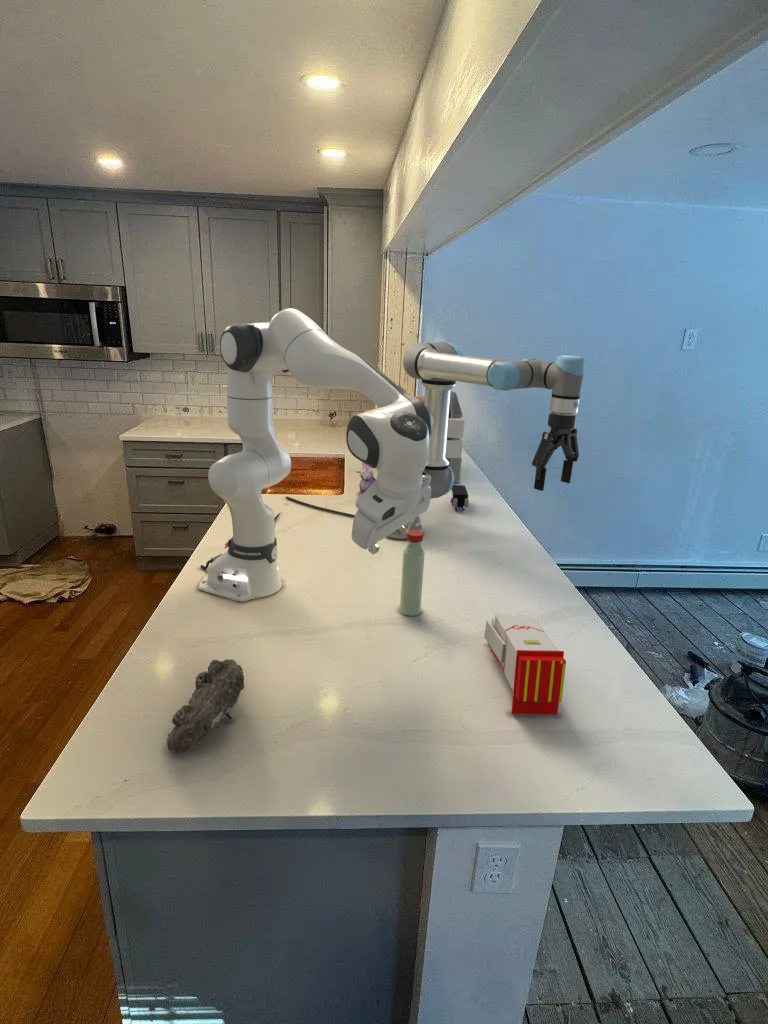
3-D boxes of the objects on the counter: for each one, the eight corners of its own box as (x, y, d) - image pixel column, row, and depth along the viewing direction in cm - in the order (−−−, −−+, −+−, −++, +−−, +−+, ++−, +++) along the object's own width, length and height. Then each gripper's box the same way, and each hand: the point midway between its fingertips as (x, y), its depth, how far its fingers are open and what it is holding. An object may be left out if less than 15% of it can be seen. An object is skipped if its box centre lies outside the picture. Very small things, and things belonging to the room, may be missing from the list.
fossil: (192, 660, 117) (244, 628, 112) (224, 691, 120) (276, 661, 115) (142, 746, 98) (202, 712, 93) (182, 779, 101) (242, 748, 96)
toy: (530, 600, 137) (574, 657, 108) (525, 651, 140) (567, 720, 111) (480, 599, 137) (511, 656, 107) (477, 651, 139) (506, 719, 110)
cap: (404, 537, 144) (405, 530, 143) (419, 536, 145) (420, 529, 144) (409, 543, 140) (409, 536, 140) (425, 542, 141) (425, 535, 141)
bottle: (397, 606, 151) (401, 531, 144) (416, 604, 153) (421, 529, 145) (403, 616, 146) (408, 539, 139) (423, 614, 148) (429, 537, 140)
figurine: (363, 499, 233) (364, 464, 228) (353, 492, 242) (354, 458, 236) (383, 497, 237) (385, 462, 232) (373, 490, 246) (374, 456, 241)
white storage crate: (382, 463, 289) (386, 382, 275) (445, 464, 293) (451, 384, 279) (390, 482, 257) (394, 392, 243) (460, 483, 261) (468, 394, 247)
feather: (287, 506, 225) (290, 502, 224) (270, 530, 198) (272, 526, 198) (283, 504, 225) (286, 500, 224) (265, 527, 198) (268, 523, 197)
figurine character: (468, 516, 224) (463, 500, 237) (471, 498, 221) (465, 483, 234) (452, 515, 224) (447, 499, 237) (453, 498, 220) (449, 482, 234)
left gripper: (420, 464, 119) (410, 513, 128) (349, 503, 107) (344, 554, 116) (443, 479, 116) (431, 528, 125) (372, 521, 104) (365, 572, 113)
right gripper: (548, 419, 148) (537, 496, 155) (598, 411, 163) (586, 482, 171) (525, 414, 153) (515, 489, 160) (575, 407, 169) (564, 476, 176)
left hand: (388, 541), depth 120 cm, fingers open, 8 cm apart
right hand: (552, 485), depth 166 cm, fingers open, 13 cm apart
